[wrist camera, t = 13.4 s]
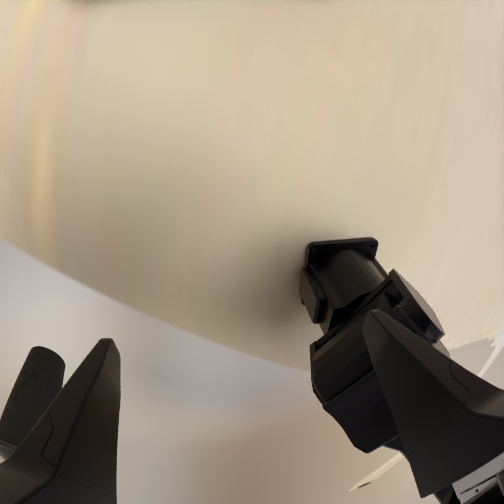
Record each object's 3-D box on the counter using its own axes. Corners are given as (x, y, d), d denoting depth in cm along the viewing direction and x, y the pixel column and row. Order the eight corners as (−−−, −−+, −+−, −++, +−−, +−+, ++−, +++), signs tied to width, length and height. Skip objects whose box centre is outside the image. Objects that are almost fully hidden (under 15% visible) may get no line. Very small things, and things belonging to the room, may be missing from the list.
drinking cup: (87, 367, 29) (69, 531, 12) (58, 382, 30) (37, 521, 14) (36, 328, 25) (-9, 503, 8) (12, 349, 26) (-25, 493, 10)
